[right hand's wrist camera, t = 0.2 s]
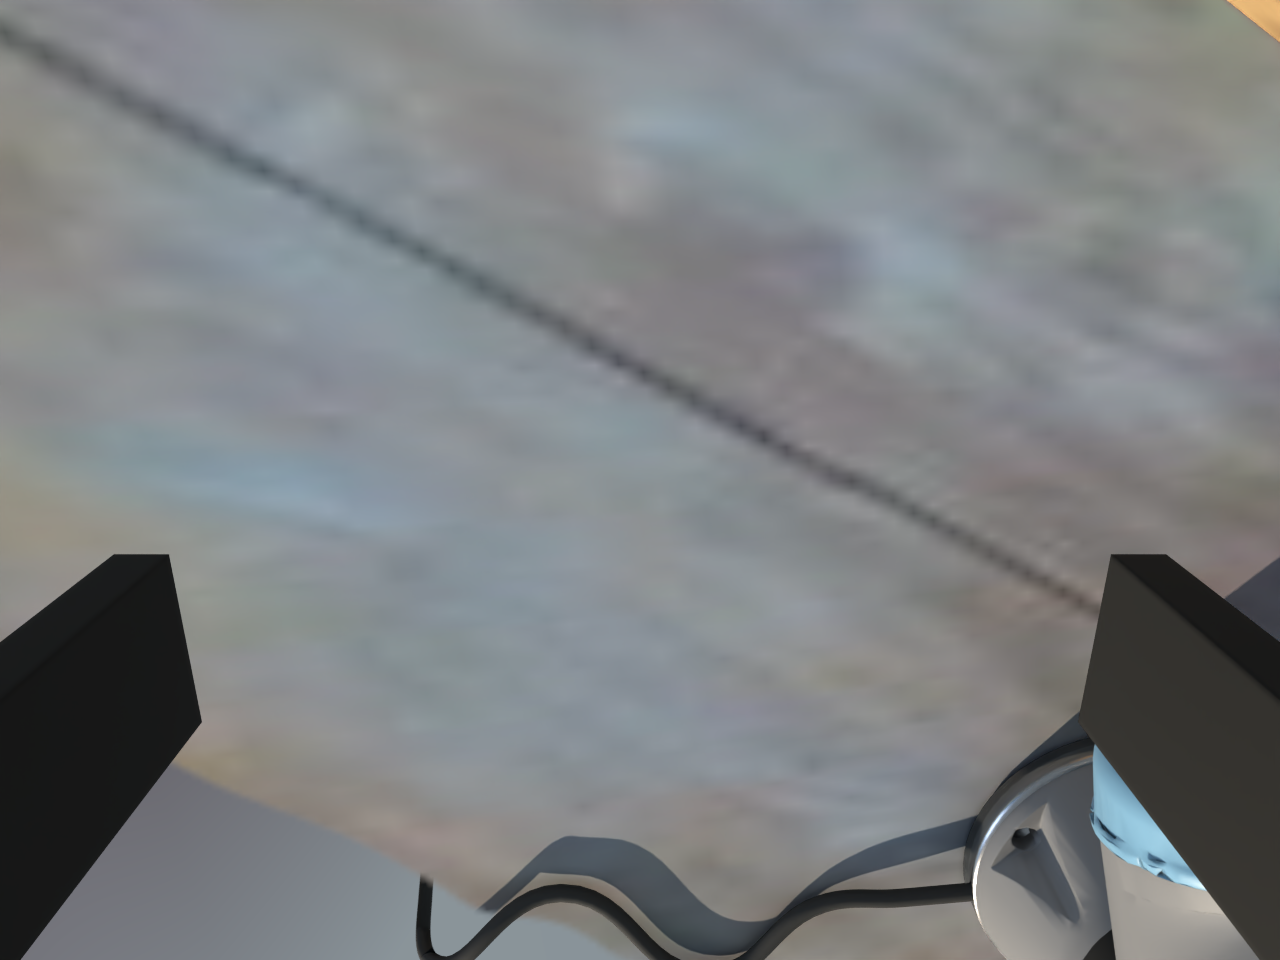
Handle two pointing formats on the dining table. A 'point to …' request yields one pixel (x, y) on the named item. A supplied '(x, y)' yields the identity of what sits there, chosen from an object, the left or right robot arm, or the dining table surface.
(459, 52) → the dining table surface
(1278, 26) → the bar
